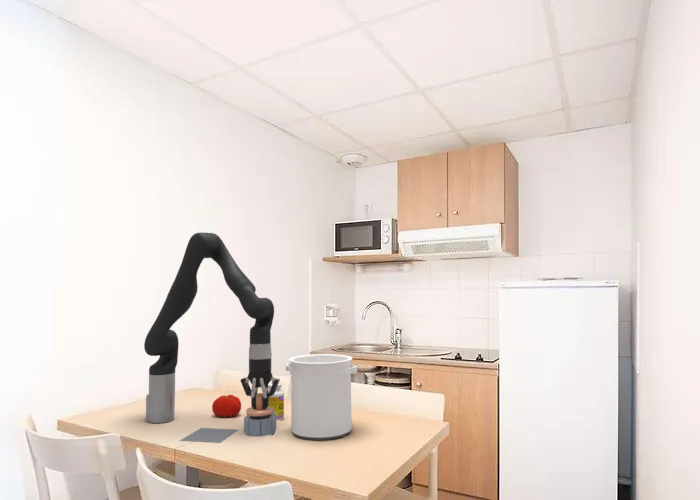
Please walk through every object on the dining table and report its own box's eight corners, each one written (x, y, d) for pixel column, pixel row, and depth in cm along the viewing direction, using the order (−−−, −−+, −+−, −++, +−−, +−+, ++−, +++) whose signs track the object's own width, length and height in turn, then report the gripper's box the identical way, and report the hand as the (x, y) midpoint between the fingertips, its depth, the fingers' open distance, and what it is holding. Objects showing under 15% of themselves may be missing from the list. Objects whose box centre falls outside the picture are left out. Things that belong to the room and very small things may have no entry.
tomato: (230, 421, 177) (230, 400, 177) (206, 418, 181) (206, 398, 181) (247, 413, 187) (247, 394, 187) (223, 411, 191) (223, 392, 191)
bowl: (240, 437, 157) (240, 420, 158) (252, 428, 167) (252, 412, 167) (269, 438, 155) (268, 421, 156) (279, 429, 165) (279, 413, 166)
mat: (179, 442, 153) (179, 440, 153) (201, 429, 166) (201, 427, 166) (220, 444, 150) (220, 442, 150) (239, 431, 164) (239, 429, 164)
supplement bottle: (280, 422, 174) (280, 386, 175) (263, 421, 175) (263, 385, 176) (286, 417, 181) (286, 382, 182) (269, 416, 182) (269, 382, 183)
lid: (241, 415, 158) (242, 396, 159) (252, 409, 167) (252, 390, 167) (267, 416, 156) (267, 397, 157) (277, 409, 165) (277, 391, 166)
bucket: (367, 425, 168) (366, 354, 170) (346, 445, 148) (345, 364, 150) (300, 420, 177) (300, 352, 178) (272, 437, 156) (272, 361, 158)
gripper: (236, 358, 161) (235, 410, 159) (276, 358, 158) (276, 412, 157) (245, 354, 168) (245, 405, 167) (283, 355, 165) (283, 406, 164)
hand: (260, 408), depth 162 cm, fingers open, 3 cm apart
